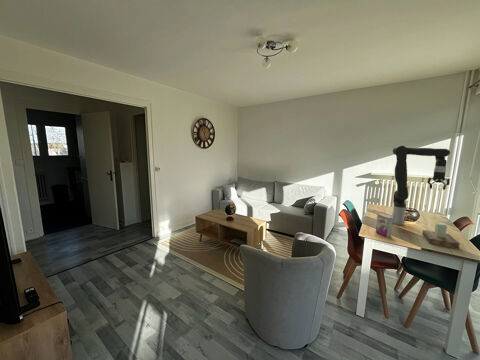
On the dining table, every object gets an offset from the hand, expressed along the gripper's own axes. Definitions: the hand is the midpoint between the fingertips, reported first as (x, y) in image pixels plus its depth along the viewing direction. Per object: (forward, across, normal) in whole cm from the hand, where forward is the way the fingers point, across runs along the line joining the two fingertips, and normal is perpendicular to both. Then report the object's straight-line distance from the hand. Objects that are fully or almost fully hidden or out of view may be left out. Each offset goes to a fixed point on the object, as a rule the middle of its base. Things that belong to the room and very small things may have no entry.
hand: (437, 189), depth 184 cm
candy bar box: (+36, -41, -43) cm, 70 cm away
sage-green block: (+32, -4, -36) cm, 48 cm away
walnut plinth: (+36, -4, -36) cm, 51 cm away
